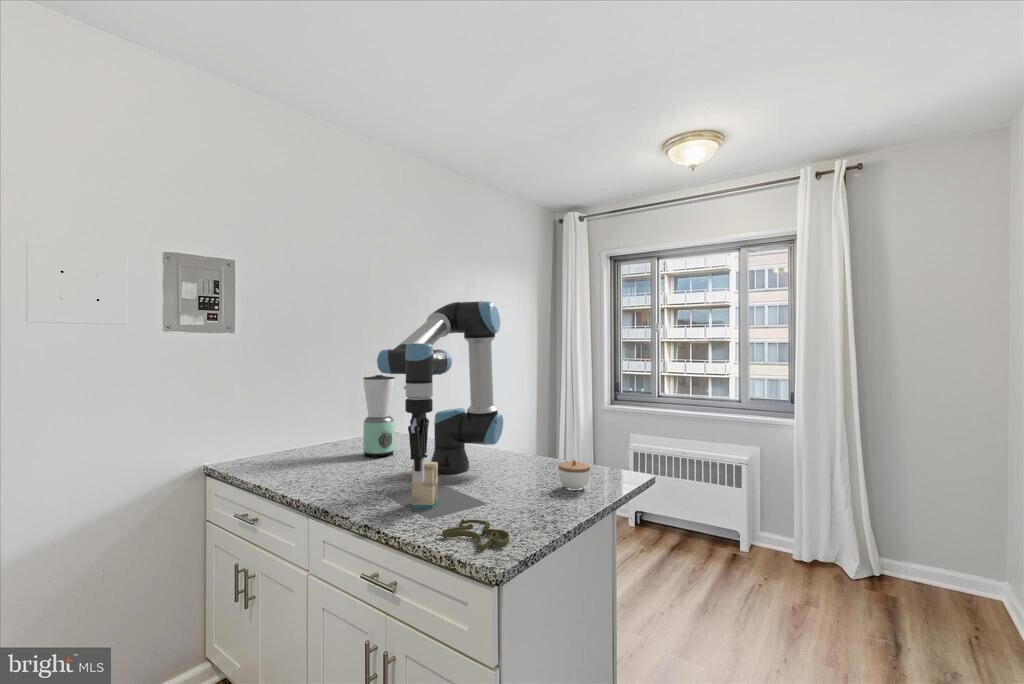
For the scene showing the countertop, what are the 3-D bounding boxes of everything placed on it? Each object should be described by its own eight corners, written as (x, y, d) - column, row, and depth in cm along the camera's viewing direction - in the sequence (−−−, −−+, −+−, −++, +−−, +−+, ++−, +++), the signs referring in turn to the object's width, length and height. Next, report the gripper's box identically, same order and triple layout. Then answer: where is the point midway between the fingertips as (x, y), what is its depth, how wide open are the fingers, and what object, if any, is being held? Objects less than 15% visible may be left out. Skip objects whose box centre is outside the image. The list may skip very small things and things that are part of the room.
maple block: (418, 501, 146) (418, 461, 146) (437, 502, 145) (437, 462, 145) (412, 507, 140) (412, 466, 140) (432, 508, 139) (432, 467, 139)
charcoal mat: (439, 486, 165) (439, 483, 165) (488, 507, 144) (488, 503, 144) (384, 497, 152) (384, 494, 152) (429, 522, 131) (429, 519, 131)
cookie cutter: (436, 536, 122) (436, 528, 122) (469, 523, 131) (469, 516, 131) (488, 557, 111) (488, 548, 111) (520, 541, 120) (521, 532, 120)
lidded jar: (593, 486, 166) (593, 458, 166) (585, 494, 156) (585, 465, 156) (564, 482, 170) (564, 455, 170) (553, 490, 160) (553, 462, 160)
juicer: (402, 455, 210) (402, 375, 211) (374, 460, 201) (374, 376, 201) (380, 449, 224) (380, 373, 224) (353, 453, 215) (353, 374, 215)
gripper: (412, 395, 143) (412, 475, 143) (398, 400, 130) (398, 488, 130) (437, 395, 142) (437, 475, 142) (425, 400, 129) (425, 489, 129)
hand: (418, 481), depth 136 cm, fingers closed
